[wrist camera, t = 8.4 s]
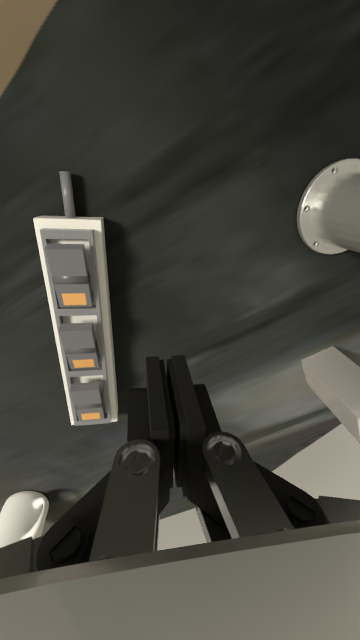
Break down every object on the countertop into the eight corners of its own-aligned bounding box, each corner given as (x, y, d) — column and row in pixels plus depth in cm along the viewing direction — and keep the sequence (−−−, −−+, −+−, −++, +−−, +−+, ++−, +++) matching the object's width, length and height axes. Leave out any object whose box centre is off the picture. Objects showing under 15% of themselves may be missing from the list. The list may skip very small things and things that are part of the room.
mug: (69, 490, 57) (56, 551, 48) (32, 518, 60) (13, 581, 50) (34, 474, 54) (12, 536, 44) (-4, 505, 56) (-32, 570, 47)
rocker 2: (92, 321, 35) (91, 331, 34) (100, 359, 41) (99, 368, 40) (60, 322, 35) (58, 332, 34) (72, 360, 40) (70, 370, 39)
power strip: (99, 173, 33) (95, 172, 29) (118, 408, 50) (116, 427, 46) (33, 170, 32) (19, 168, 28) (74, 411, 48) (69, 431, 45)
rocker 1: (84, 243, 31) (82, 250, 30) (93, 299, 36) (91, 307, 35) (48, 242, 31) (44, 249, 29) (62, 299, 36) (59, 308, 35)
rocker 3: (99, 380, 40) (98, 390, 39) (105, 410, 45) (104, 420, 44) (71, 382, 40) (69, 392, 38) (80, 412, 45) (78, 422, 43)
